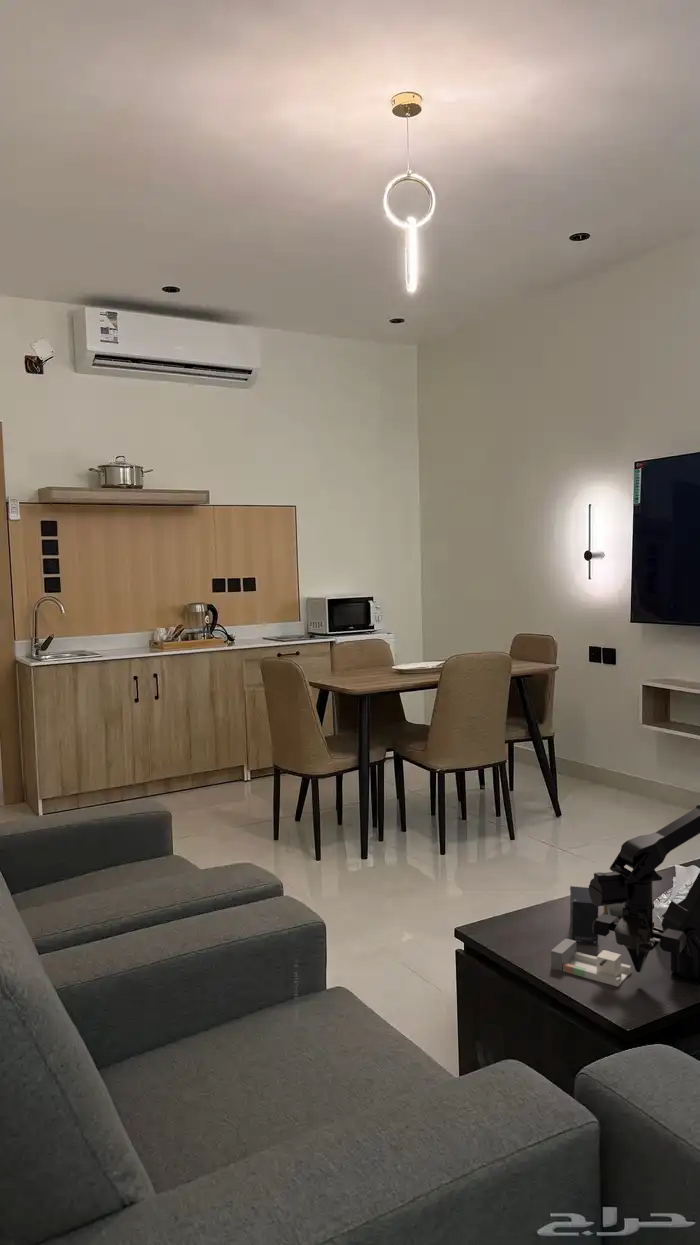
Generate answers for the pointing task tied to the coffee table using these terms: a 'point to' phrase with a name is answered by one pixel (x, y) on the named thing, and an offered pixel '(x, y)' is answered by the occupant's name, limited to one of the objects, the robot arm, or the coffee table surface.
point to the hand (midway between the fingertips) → (638, 971)
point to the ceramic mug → (614, 909)
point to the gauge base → (583, 964)
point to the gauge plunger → (609, 963)
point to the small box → (582, 916)
